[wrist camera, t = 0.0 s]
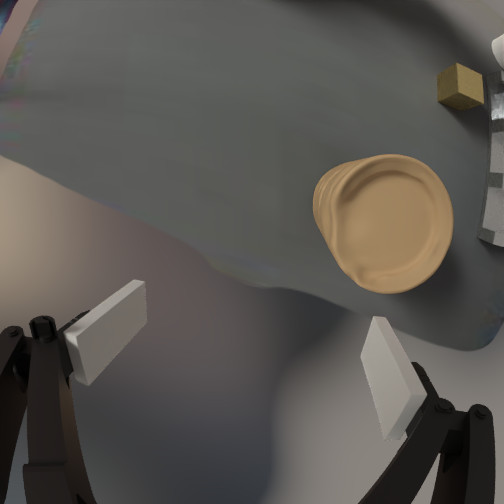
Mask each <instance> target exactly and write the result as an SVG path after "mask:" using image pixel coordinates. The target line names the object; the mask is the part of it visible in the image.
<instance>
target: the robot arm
mask: <svg viewBox="0 0 504 504" xmlns="http://www.w3.org/2000/svg"><path fill="white" fill-rule="evenodd" d="M145 295H146V293H145V282H144V281H139V280H133V281H131V282H130V283H128V284H127V285H126V286H125V287H123V288H122V289H120V290H119V291H118V292H116V293H115V294H113V295H112V296H111V297H109V298H108V299H106V300H105V301H104V302H102V303H101V304H100V305H98V306H97V307H95V308H94V309H93V310H91V311H90V310H88V311H86V312H83V313H81V314H79V315H78V316H77V317H75V319H72V320H71V321H70V322H69V323H67V324H66V325H64V326H63V327H62V328H60V329H59V330H58V331H57V330H56V325H55V321H54V319H53V318H52V317H50V316H39V317H36V318H33V319H32V320H31V321H30V323H29V325H30V329H31V333H32V337H33V338H31V337H26V336H25V335H24V332H23V329H22V328H21V327H19V326H10V327H7V328H6V329H4V330H3V331H2V333H1V334H0V504H4V502H5V499H6V494H7V489H8V483H9V477H10V471H11V466H12V461H13V456H14V451H15V447H16V443H17V439H18V435H19V431H20V427H21V424H22V420H23V416H24V413H25V410H26V407H27V439H28V456H29V463H28V464H24V465H23V481H24V489H25V496H26V502H27V504H97V503H96V501H95V498H94V496H93V493H92V490H91V486H90V483H89V479H88V476H87V472H86V468H85V464H84V460H83V456H82V452H81V447H80V442H79V437H78V431H77V426H76V420H75V413H74V406H73V398H72V391H71V380H70V378H69V375H70V374H71V373H72V372H73V371H74V375H75V378H76V381H79V382H80V383H83V384H85V385H87V386H89V385H90V384H91V383H92V382H93V380H94V379H95V378H96V377H97V376H98V375H99V374H100V373H101V372H102V370H103V369H104V368H105V367H106V366H107V365H108V364H109V363H110V362H111V361H112V360H113V358H114V357H115V356H116V355H117V354H118V353H119V352H120V351H121V350H122V349H123V347H124V346H125V345H126V344H127V343H128V342H129V341H130V340H131V339H132V338H133V337H134V336H135V335H136V334H137V332H138V331H139V330H140V329H141V328H142V327H143V326H144V325H145V324H146V323H147V316H146V296H145ZM361 360H362V364H363V367H364V370H365V373H366V377H367V380H368V383H369V386H370V390H371V393H372V397H373V400H374V404H375V407H376V411H377V415H378V418H379V422H380V426H381V430H382V433H383V437H384V440H399V439H400V438H401V436H402V435H403V434H404V432H405V431H406V434H407V437H408V438H407V439H406V440H405V442H404V443H403V445H402V446H401V447H400V449H399V450H398V452H397V454H396V455H395V457H394V458H393V460H392V461H391V462H390V464H389V465H388V467H387V468H386V470H385V471H384V472H383V473H382V475H381V476H380V477H379V479H378V480H377V481H376V482H375V484H374V485H373V486H372V488H371V489H370V490H369V491H368V492H367V494H366V495H365V496H364V497H363V498H362V499H361V501H360V502H359V503H358V504H411V503H412V501H413V500H414V498H415V496H416V495H417V493H418V491H419V490H420V488H421V486H422V484H423V482H424V481H425V479H426V477H427V475H428V473H429V471H430V469H431V468H432V465H433V464H434V462H435V459H436V457H437V455H438V453H441V454H440V460H439V466H438V472H437V477H436V482H435V487H434V491H433V495H432V500H431V503H430V504H494V495H495V439H494V426H493V416H492V413H491V411H490V410H489V409H488V408H487V407H486V406H484V405H481V404H475V405H473V406H471V408H470V409H469V411H468V412H463V411H456V410H455V408H454V406H453V404H452V403H451V402H449V401H448V400H446V399H443V398H439V396H438V394H437V392H436V390H435V388H434V387H433V385H432V383H431V382H430V379H429V377H428V376H427V374H426V372H425V370H424V369H423V367H421V366H420V365H419V364H418V363H417V362H410V360H409V358H408V356H407V355H406V353H405V351H404V349H403V347H402V345H401V344H400V342H399V340H398V338H397V337H396V335H395V333H394V331H393V330H392V328H391V326H390V324H389V323H388V321H387V319H386V318H385V317H377V316H373V319H372V323H371V325H370V329H369V332H368V335H367V338H366V341H365V344H364V347H363V350H362V353H361Z"/></svg>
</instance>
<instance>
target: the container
mask: <svg viewBox="0 0 504 504" xmlns="http://www.w3.org/2000/svg"><path fill="white" fill-rule="evenodd" d="M313 213H314V218H315V221H316V223H317V225H318V227H319V229H320V231H321V233H322V235H323V237H324V239H325V241H326V243H327V245H328V247H329V249H330V251H331V253H332V254H333V256H334V258H335V260H336V261H337V263H338V265H339V266H340V267H341V269H342V270H343V271H344V272H345V273H346V274H347V275H348V276H349V277H350V278H351V279H352V280H353V281H355V282H356V283H357V284H358V285H359V286H361V287H363V288H365V289H367V290H370V291H373V292H377V293H383V294H394V293H401V292H405V291H408V290H410V289H413V288H415V287H417V286H418V285H420V284H422V283H423V282H425V281H426V280H427V279H428V278H430V277H431V276H432V275H433V274H434V272H435V271H436V270H437V269H438V268H439V266H440V265H441V263H442V261H443V259H444V257H445V255H446V253H447V251H448V249H449V247H450V244H451V240H452V235H453V223H454V217H453V208H452V204H451V200H450V197H449V195H448V192H447V190H446V188H445V186H444V185H443V183H442V181H441V180H440V179H439V177H438V176H437V175H436V174H435V173H434V172H433V170H431V169H430V168H429V167H428V166H427V165H425V164H424V163H422V162H420V161H418V160H416V159H414V158H412V157H407V156H403V155H396V154H385V155H378V156H373V157H370V158H365V159H360V160H356V161H352V162H347V163H344V164H341V165H339V166H337V167H335V168H333V169H331V170H330V171H328V172H327V173H326V174H325V175H324V176H323V177H322V178H321V179H320V181H319V182H318V184H317V186H316V188H315V191H314V196H313Z"/></svg>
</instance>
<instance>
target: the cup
mask: <svg viewBox="0 0 504 504" xmlns="http://www.w3.org/2000/svg"><path fill="white" fill-rule="evenodd" d="M492 51H493V54H494V56H495V58H496V60H497V62H498V63H499V65H500V66H501V67H502V68H503V70H504V34H503V35H501V36H500V37H498V38H496V39H494V40H493V41H492Z"/></svg>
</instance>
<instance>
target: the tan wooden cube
mask: <svg viewBox="0 0 504 504" xmlns="http://www.w3.org/2000/svg"><path fill="white" fill-rule="evenodd" d="M437 90H438V102H440V103H443V104H445V105H448V106H451V107H453V108H456V109H458V110H460V111H463V110H466V109H469V108H472V107H475V106H479V105H482V104H484V96H483V82H482V75H481V74H479V73H477V72H475V71H473V70H471V69H469V68H467V67H465V66H463V65H460V64H458V63H455V64H454V65H452V66H450V67H449V68H447V69H446V70H444V71H443V72H441V73H439V74H438V75H437Z"/></svg>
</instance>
